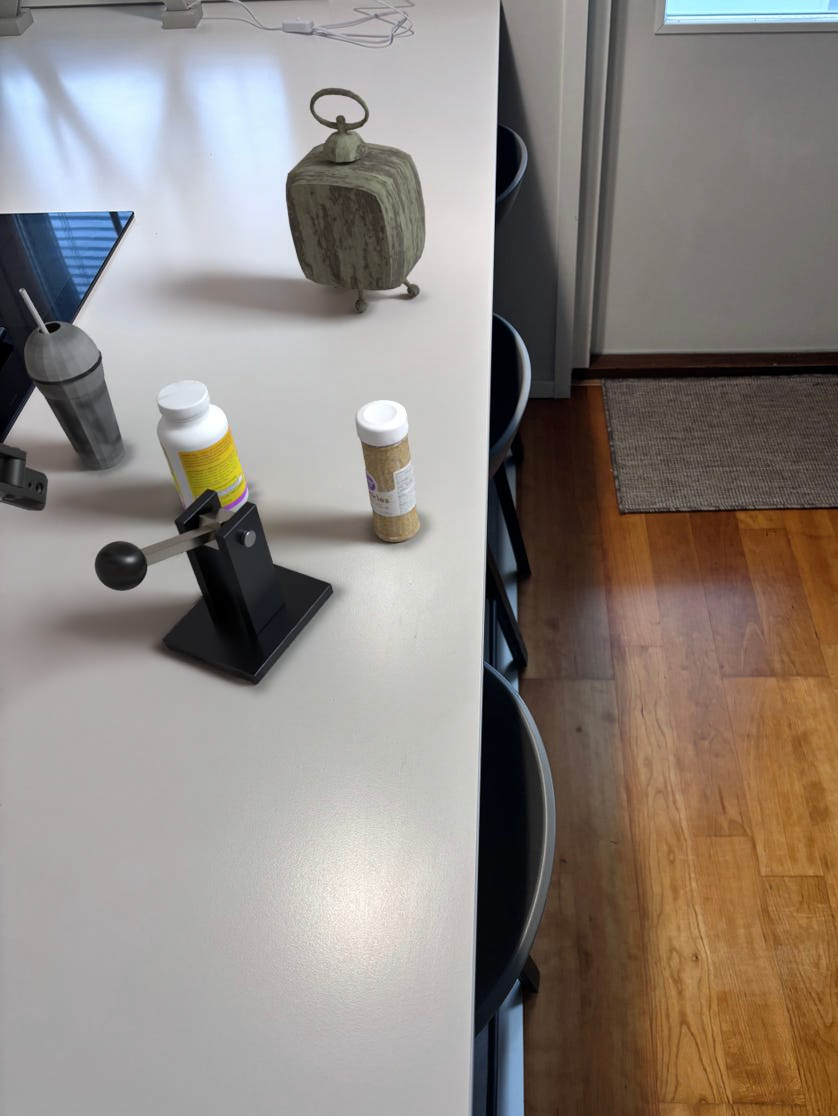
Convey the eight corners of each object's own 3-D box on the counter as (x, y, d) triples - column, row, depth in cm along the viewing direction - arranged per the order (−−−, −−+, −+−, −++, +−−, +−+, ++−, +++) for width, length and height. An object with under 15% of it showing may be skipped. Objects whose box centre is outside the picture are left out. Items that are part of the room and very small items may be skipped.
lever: (122, 603, 70) (121, 556, 68) (84, 588, 71) (82, 542, 69) (248, 550, 82) (250, 509, 80) (214, 539, 83) (215, 498, 81)
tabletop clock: (432, 291, 125) (412, 77, 106) (408, 329, 120) (381, 110, 101) (329, 279, 129) (291, 70, 110) (300, 315, 123) (255, 101, 104)
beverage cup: (152, 444, 107) (87, 271, 92) (109, 485, 102) (33, 310, 87) (99, 430, 109) (27, 258, 94) (55, 469, 105) (-28, 295, 90)
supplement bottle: (263, 494, 100) (233, 386, 91) (217, 532, 97) (181, 424, 87) (216, 473, 103) (182, 366, 93) (170, 509, 99) (130, 401, 90)
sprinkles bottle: (364, 531, 96) (343, 416, 86) (397, 506, 98) (380, 391, 88) (398, 551, 93) (380, 435, 83) (431, 525, 96) (417, 410, 86)
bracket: (257, 685, 83) (219, 578, 74) (165, 648, 87) (117, 541, 77) (333, 592, 90) (308, 483, 81) (245, 561, 94) (211, 453, 84)
